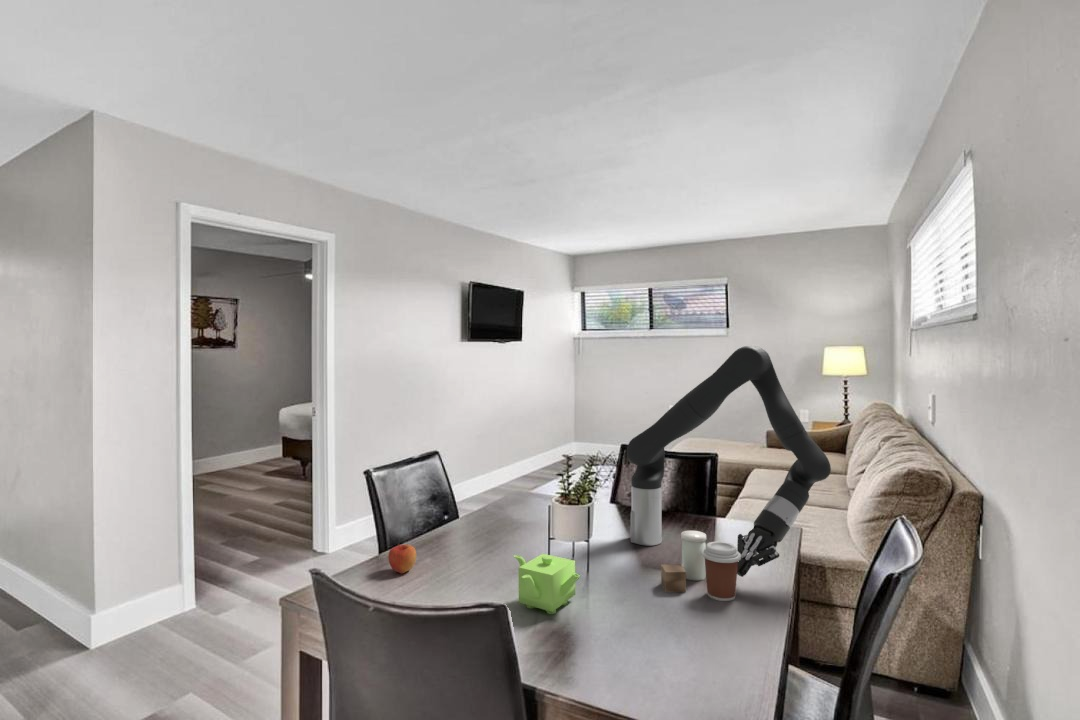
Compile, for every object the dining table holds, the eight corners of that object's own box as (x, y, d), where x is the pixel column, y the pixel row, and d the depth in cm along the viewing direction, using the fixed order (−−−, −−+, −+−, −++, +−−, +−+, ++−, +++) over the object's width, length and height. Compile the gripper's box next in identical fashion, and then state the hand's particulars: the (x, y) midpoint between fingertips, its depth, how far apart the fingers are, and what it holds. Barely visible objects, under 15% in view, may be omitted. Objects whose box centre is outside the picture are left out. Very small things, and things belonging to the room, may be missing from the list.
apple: (422, 569, 155) (421, 540, 155) (404, 579, 148) (404, 548, 148) (400, 565, 158) (400, 536, 158) (382, 574, 152) (382, 544, 151)
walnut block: (665, 592, 140) (665, 572, 140) (661, 584, 145) (661, 564, 145) (685, 592, 140) (686, 572, 140) (680, 584, 145) (680, 564, 145)
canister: (681, 579, 147) (681, 537, 147) (681, 570, 154) (681, 529, 153) (706, 581, 146) (706, 539, 146) (706, 572, 152) (705, 531, 152)
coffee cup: (708, 584, 144) (708, 537, 144) (745, 593, 139) (745, 544, 138) (696, 597, 136) (696, 547, 136) (734, 607, 131) (734, 555, 131)
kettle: (522, 622, 124) (522, 571, 124) (509, 596, 138) (508, 550, 138) (587, 614, 128) (587, 564, 128) (568, 589, 142) (567, 544, 142)
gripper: (749, 502, 149) (711, 555, 145) (788, 516, 136) (748, 574, 132) (765, 520, 151) (728, 573, 147) (805, 535, 138) (766, 593, 134)
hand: (738, 573), depth 139 cm, fingers closed
